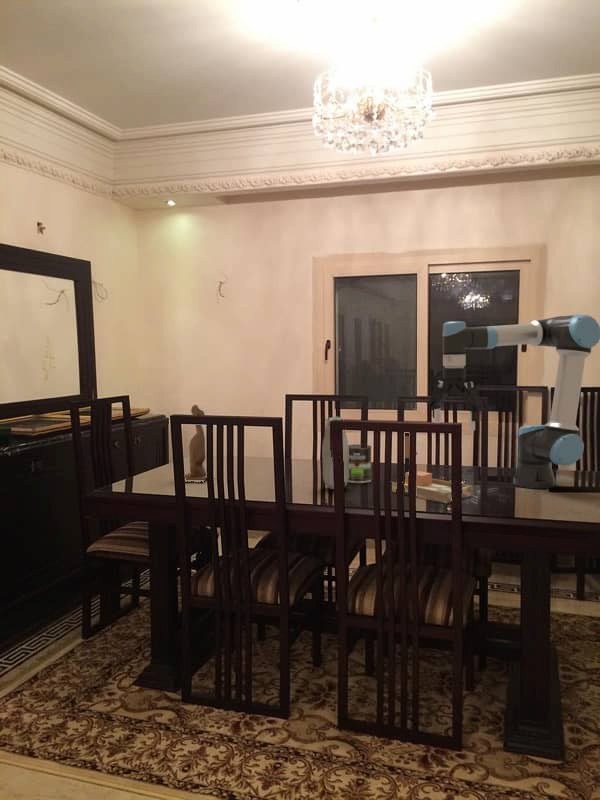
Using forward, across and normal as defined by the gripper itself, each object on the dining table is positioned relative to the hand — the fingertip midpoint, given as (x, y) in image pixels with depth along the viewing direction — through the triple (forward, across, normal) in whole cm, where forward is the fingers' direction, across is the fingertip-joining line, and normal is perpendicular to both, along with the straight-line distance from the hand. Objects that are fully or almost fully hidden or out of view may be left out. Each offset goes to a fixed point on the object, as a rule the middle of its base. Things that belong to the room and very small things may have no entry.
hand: (454, 429), depth 216 cm
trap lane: (+26, -15, +6) cm, 30 cm away
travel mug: (+26, -37, +24) cm, 51 cm away
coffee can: (+26, -48, +5) cm, 55 cm away
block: (+24, -21, +9) cm, 33 cm away
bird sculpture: (+26, -99, -38) cm, 109 cm away
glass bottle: (+26, -45, -12) cm, 53 cm away
